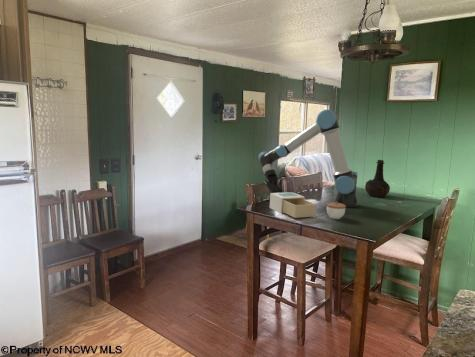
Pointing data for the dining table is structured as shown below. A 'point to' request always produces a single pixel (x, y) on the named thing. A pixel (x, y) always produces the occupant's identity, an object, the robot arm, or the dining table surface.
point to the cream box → (281, 199)
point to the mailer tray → (298, 208)
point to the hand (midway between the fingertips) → (280, 202)
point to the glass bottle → (378, 183)
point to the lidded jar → (335, 210)
